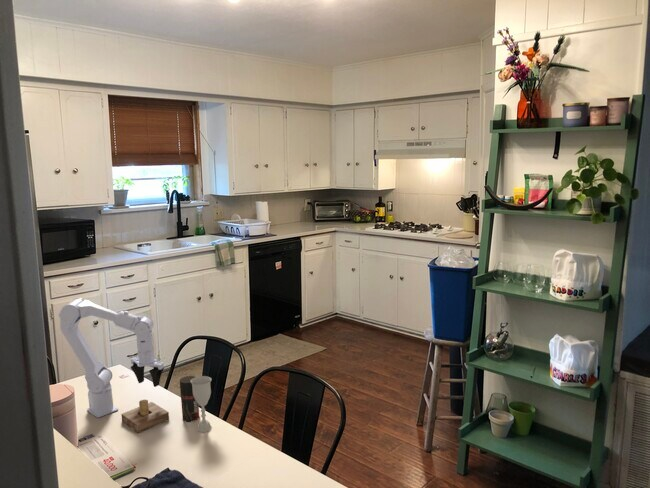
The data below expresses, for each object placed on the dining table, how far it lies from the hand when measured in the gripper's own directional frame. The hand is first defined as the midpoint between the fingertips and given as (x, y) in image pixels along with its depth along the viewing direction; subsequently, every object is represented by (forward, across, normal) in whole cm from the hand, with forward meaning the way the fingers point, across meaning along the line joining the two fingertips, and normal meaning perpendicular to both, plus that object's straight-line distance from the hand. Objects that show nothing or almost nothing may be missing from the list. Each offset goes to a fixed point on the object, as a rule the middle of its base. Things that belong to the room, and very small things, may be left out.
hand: (148, 383), depth 198 cm
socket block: (+10, +5, -8) cm, 14 cm away
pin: (+9, +5, -8) cm, 13 cm away
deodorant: (+10, +19, 0) cm, 22 cm away
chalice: (+10, +28, -4) cm, 30 cm away
